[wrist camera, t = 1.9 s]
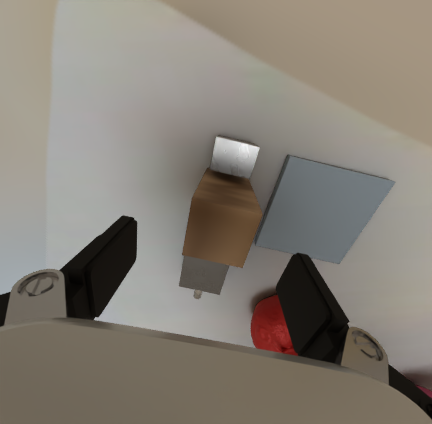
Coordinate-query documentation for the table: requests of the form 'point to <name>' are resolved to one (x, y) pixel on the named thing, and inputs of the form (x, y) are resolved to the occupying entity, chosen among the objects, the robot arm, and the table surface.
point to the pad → (319, 209)
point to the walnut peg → (222, 219)
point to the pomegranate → (271, 327)
